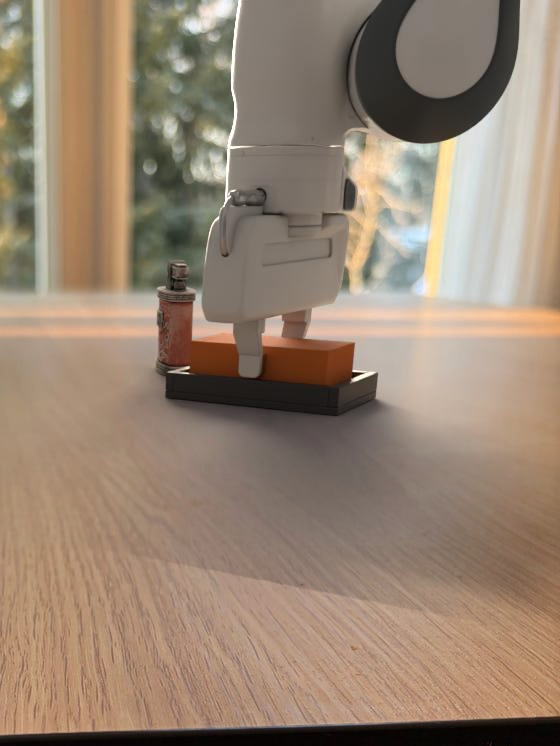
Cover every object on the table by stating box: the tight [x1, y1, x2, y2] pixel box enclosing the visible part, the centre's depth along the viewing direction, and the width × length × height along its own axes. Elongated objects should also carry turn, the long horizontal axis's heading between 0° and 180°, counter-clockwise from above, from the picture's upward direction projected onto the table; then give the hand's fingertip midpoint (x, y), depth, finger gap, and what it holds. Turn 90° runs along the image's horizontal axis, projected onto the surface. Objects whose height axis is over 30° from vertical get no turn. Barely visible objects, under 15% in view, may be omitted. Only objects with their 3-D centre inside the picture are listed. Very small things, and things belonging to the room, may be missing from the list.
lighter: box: [155, 260, 197, 376], centre depth 100 cm, size 8×3×10 cm, turn 4°
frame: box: [164, 366, 379, 416], centre depth 88 cm, size 15×9×2 cm, turn 57°
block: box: [189, 332, 356, 386], centre depth 87 cm, size 12×6×4 cm, turn 57°
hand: (270, 370), depth 88 cm, fingers closed on block, 6 cm apart
